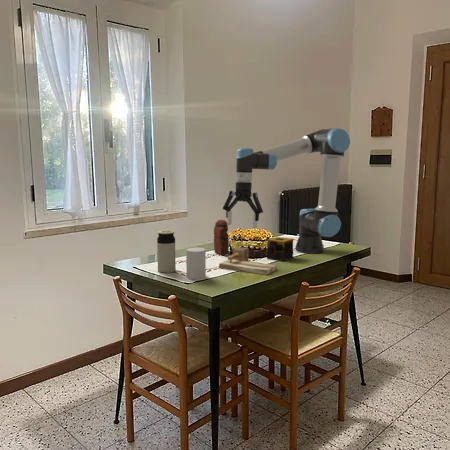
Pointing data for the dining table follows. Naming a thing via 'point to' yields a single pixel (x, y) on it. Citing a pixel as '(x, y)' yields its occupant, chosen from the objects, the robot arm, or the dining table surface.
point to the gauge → (239, 254)
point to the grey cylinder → (196, 263)
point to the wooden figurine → (221, 238)
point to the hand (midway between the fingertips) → (241, 226)
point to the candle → (279, 248)
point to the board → (248, 266)
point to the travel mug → (166, 251)
